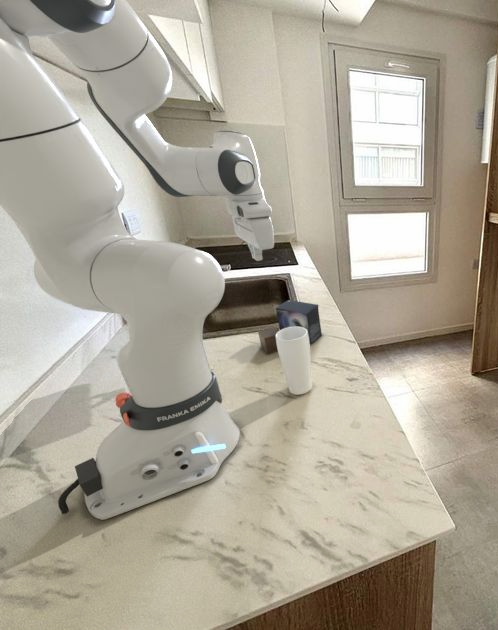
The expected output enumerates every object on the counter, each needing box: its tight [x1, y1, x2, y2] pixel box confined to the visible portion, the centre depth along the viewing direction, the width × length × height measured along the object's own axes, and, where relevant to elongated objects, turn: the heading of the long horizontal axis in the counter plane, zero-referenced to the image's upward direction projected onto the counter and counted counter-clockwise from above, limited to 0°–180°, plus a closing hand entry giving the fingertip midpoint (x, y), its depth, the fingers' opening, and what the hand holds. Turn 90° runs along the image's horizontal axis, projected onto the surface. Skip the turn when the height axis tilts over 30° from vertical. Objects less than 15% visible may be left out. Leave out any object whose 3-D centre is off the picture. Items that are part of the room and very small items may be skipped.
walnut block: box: [257, 326, 280, 355], centre depth 94 cm, size 5×5×5 cm
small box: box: [275, 299, 323, 345], centre depth 98 cm, size 11×6×10 cm, turn 73°
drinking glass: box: [275, 326, 313, 396], centre depth 75 cm, size 7×7×15 cm
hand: (257, 259), depth 89 cm, fingers closed
